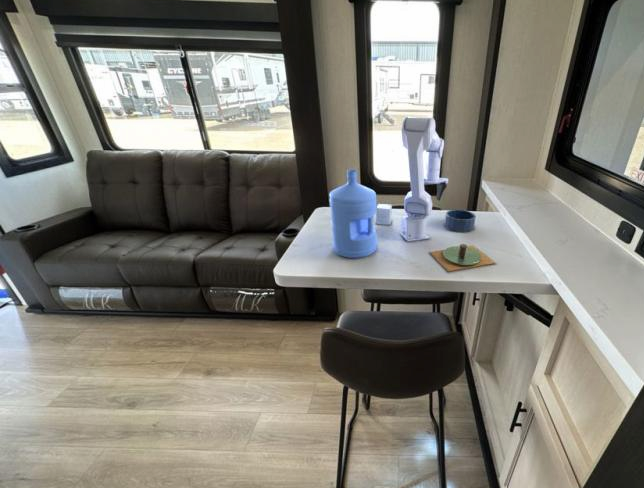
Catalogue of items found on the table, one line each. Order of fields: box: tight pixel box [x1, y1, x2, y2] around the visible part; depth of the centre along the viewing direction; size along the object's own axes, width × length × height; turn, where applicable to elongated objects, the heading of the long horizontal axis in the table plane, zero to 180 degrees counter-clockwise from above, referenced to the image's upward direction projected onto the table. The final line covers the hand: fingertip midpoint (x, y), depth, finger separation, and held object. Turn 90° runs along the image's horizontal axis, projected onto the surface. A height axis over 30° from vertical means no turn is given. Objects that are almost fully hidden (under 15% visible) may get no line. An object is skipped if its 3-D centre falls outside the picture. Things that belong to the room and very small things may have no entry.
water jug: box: [329, 169, 378, 259], centre depth 105 cm, size 16×16×28 cm
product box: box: [375, 203, 393, 226], centre depth 133 cm, size 6×6×7 cm
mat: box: [429, 245, 495, 273], centre depth 108 cm, size 18×14×1 cm
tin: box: [444, 209, 477, 233], centre depth 132 cm, size 12×12×6 cm
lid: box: [443, 243, 482, 265], centre depth 107 cm, size 13×13×5 cm
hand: (430, 200), depth 133 cm, fingers open, 7 cm apart
